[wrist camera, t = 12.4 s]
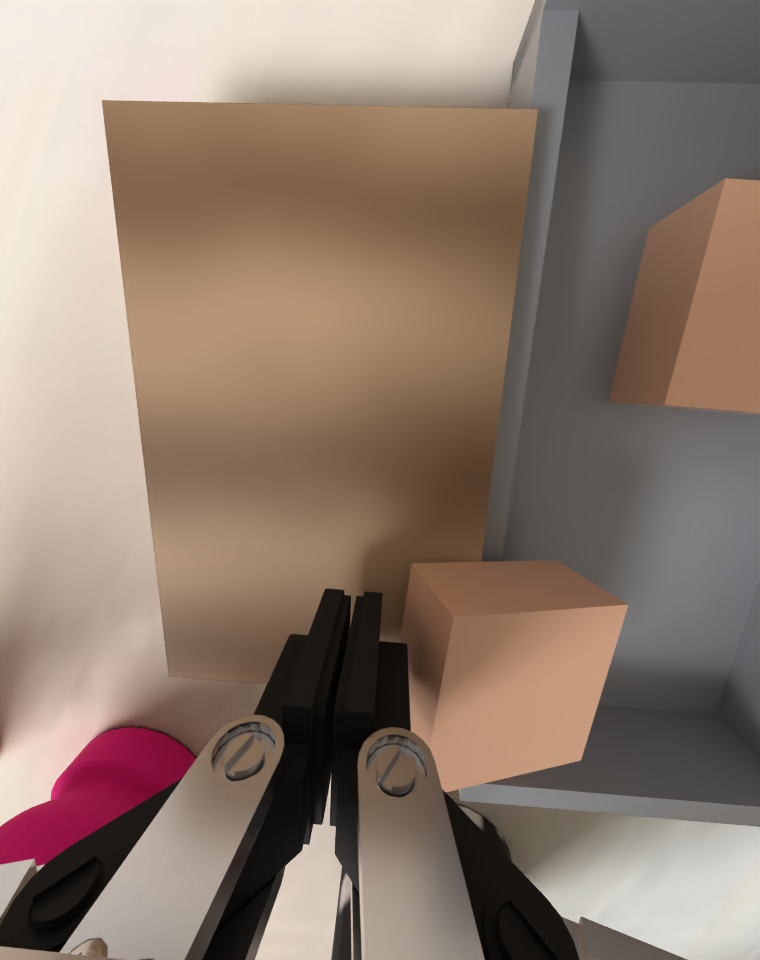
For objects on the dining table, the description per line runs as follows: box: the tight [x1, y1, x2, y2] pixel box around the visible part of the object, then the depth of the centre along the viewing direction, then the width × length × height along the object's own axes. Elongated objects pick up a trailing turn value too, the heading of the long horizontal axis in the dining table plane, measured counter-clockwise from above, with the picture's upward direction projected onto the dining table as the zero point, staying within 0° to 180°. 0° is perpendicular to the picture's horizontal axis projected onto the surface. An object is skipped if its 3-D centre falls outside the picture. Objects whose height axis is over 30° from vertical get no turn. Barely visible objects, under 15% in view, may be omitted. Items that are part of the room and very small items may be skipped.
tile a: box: [608, 178, 760, 415], centre depth 10 cm, size 5×5×2 cm
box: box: [458, 0, 760, 827], centre depth 11 cm, size 22×12×4 cm, turn 177°
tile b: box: [400, 560, 628, 792], centre depth 10 cm, size 5×5×2 cm
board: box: [102, 100, 538, 684], centre depth 11 cm, size 16×10×3 cm, turn 177°
